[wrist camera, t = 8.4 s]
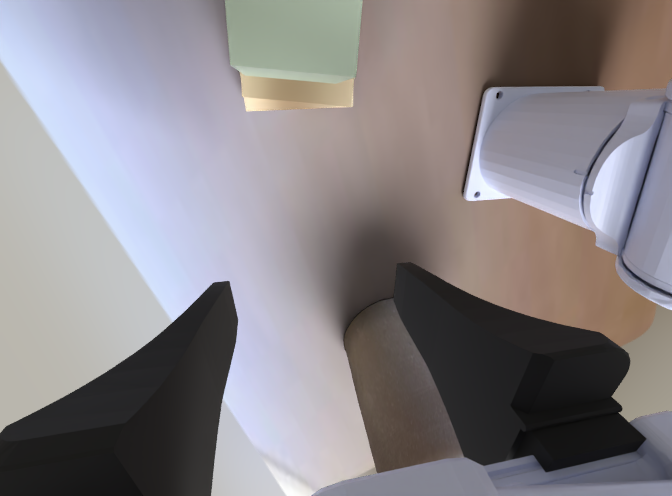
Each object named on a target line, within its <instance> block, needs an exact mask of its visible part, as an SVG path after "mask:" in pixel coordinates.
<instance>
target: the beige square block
mask: <svg viewBox="0 0 672 496" xmlns="http://www.w3.org/2000/svg"><path fill="white" fill-rule="evenodd" d="M353 83H354V78H352V79H349V80H346V81H343V82H340V83H337V84H332V83H321V82H310V81H299V80H288V79H277V78H266V77H255V76H245V75H244V74H242V73H241V85H242V97H247V98H258V99H268V100H279V101H290V102H300V103H311V104H322V105H332V106H344V107H351V104H352V94H353Z"/></svg>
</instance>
